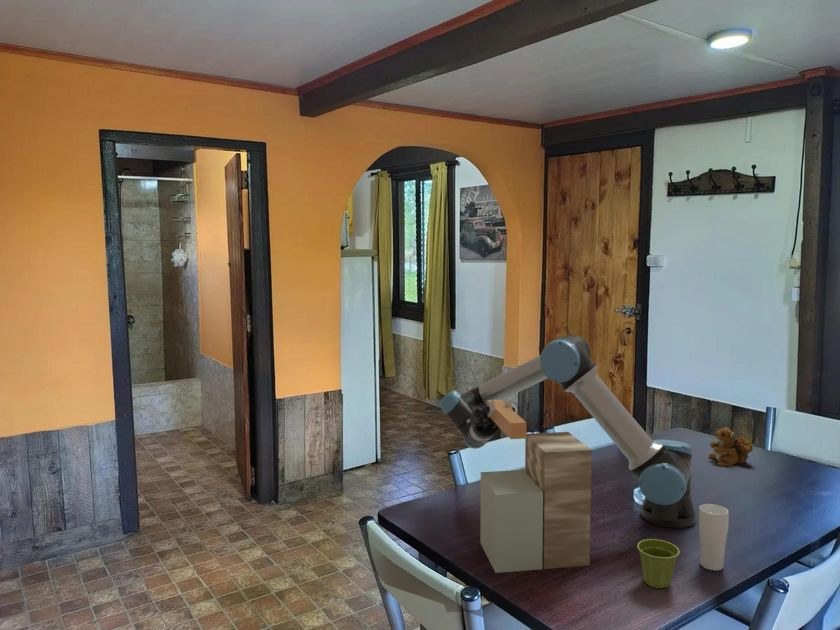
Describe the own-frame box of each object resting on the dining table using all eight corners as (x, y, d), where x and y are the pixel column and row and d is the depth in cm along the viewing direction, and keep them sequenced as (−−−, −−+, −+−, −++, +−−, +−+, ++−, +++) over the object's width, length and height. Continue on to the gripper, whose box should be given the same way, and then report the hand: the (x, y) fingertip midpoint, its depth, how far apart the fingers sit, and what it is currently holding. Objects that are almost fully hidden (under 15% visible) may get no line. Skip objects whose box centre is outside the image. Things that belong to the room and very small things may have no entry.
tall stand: (524, 540, 173) (525, 433, 170) (566, 536, 174) (568, 431, 171) (543, 569, 157) (545, 452, 154) (589, 565, 158) (591, 450, 155)
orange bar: (486, 414, 177) (487, 400, 177) (500, 413, 178) (500, 399, 177) (510, 439, 153) (510, 423, 153) (526, 438, 154) (526, 422, 154)
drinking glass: (729, 574, 153) (732, 515, 152) (700, 572, 155) (702, 513, 153) (722, 561, 160) (724, 504, 159) (694, 558, 161) (696, 502, 160)
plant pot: (674, 597, 144) (675, 561, 143) (632, 586, 149) (633, 551, 148) (681, 579, 152) (682, 544, 151) (641, 569, 157) (642, 535, 156)
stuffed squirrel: (706, 457, 240) (707, 423, 239) (746, 459, 238) (747, 425, 236) (713, 465, 230) (715, 431, 229) (755, 468, 228) (756, 432, 227)
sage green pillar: (480, 543, 171) (480, 472, 169) (523, 540, 173) (523, 469, 171) (495, 572, 155) (495, 494, 153) (542, 569, 157) (543, 491, 155)
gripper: (513, 437, 189) (534, 417, 168) (457, 440, 187) (472, 420, 166) (509, 413, 192) (530, 390, 171) (455, 415, 190) (469, 392, 169)
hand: (502, 405), depth 168 cm, fingers closed on orange bar, 4 cm apart
